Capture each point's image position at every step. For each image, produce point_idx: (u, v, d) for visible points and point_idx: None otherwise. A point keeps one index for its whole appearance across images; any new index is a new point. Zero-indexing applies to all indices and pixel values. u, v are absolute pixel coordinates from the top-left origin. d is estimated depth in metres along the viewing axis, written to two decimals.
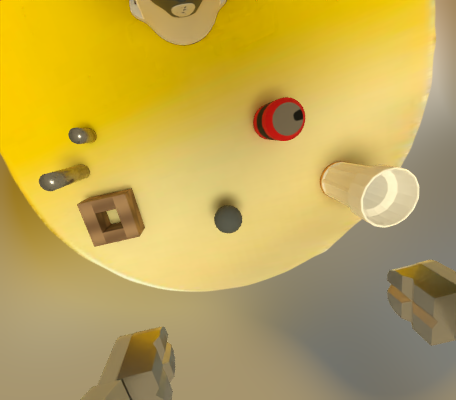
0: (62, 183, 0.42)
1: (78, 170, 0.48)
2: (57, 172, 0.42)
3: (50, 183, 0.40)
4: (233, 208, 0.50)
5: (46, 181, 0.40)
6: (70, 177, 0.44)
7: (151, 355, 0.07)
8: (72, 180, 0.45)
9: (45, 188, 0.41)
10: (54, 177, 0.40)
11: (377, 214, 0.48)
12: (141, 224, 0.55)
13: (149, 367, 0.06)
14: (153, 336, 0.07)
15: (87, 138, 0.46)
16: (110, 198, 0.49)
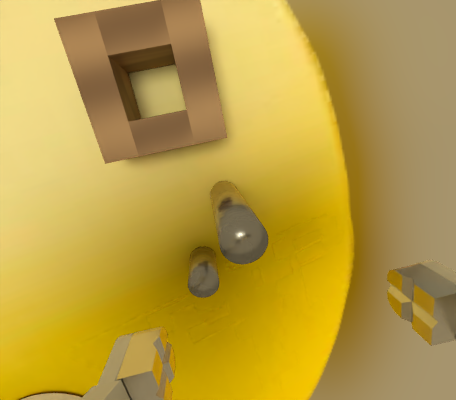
0: (219, 226, 0.15)
1: None
2: None
3: (239, 239, 0.14)
4: None
5: (248, 244, 0.14)
6: None
7: (151, 355, 0.07)
8: (216, 209, 0.19)
9: (256, 225, 0.14)
10: (225, 255, 0.14)
11: None
12: None
13: (149, 366, 0.06)
14: (153, 336, 0.07)
15: (189, 275, 0.23)
16: (142, 151, 0.19)
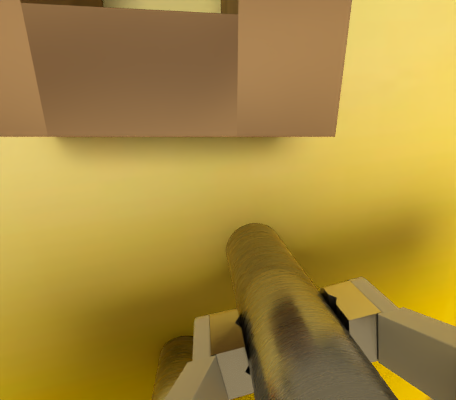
0: None
1: None
2: None
3: None
4: None
5: None
6: None
7: (238, 333, 0.07)
8: (268, 362, 0.06)
9: None
10: None
11: None
12: None
13: (241, 343, 0.06)
14: (232, 316, 0.07)
15: None
16: (64, 123, 0.06)
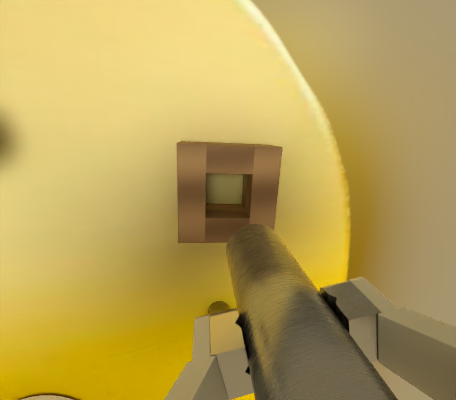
0: None
1: None
2: None
3: None
4: None
5: None
6: None
7: (238, 333, 0.07)
8: (268, 363, 0.06)
9: None
10: None
11: None
12: None
13: (241, 343, 0.06)
14: (232, 316, 0.07)
15: None
16: (208, 239, 0.24)
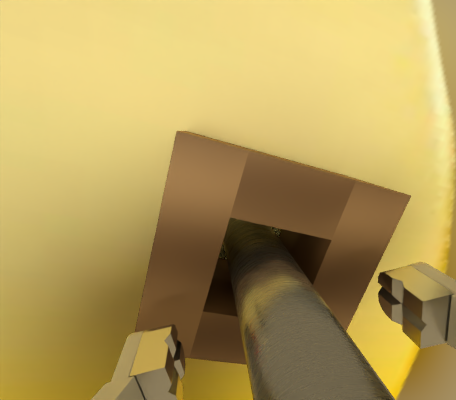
0: None
1: None
2: None
3: None
4: None
5: None
6: (241, 326, 0.08)
7: (163, 352, 0.07)
8: (247, 294, 0.08)
9: None
10: None
11: None
12: None
13: (162, 363, 0.06)
14: (164, 333, 0.07)
15: None
16: (199, 354, 0.11)
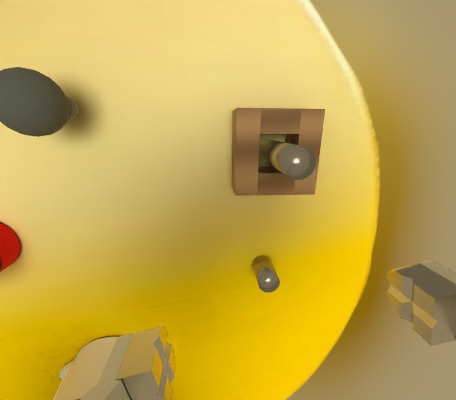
0: (280, 156, 0.22)
1: (266, 161, 0.29)
2: None
3: (297, 161, 0.21)
4: None
5: (303, 165, 0.21)
6: (271, 159, 0.25)
7: (151, 355, 0.07)
8: (271, 151, 0.25)
9: (308, 151, 0.21)
10: (287, 173, 0.21)
11: None
12: (233, 122, 0.30)
13: (149, 367, 0.06)
14: (153, 336, 0.07)
15: (259, 275, 0.34)
16: (260, 192, 0.29)
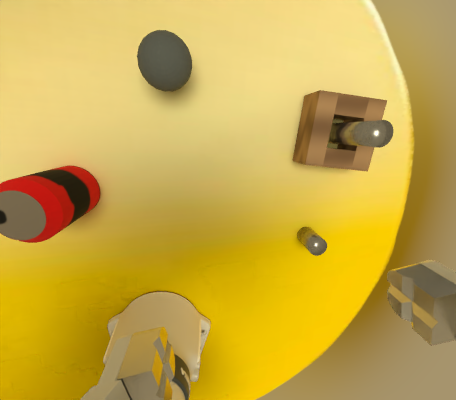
0: (362, 128, 0.28)
1: (332, 138, 0.34)
2: (361, 145, 0.29)
3: (378, 132, 0.27)
4: (149, 82, 0.27)
5: (382, 135, 0.27)
6: (346, 134, 0.31)
7: (151, 355, 0.07)
8: (345, 128, 0.31)
9: (388, 124, 0.27)
10: (370, 140, 0.27)
11: None
12: (306, 104, 0.35)
13: (149, 366, 0.06)
14: (153, 336, 0.07)
15: (309, 239, 0.39)
16: (325, 164, 0.34)
